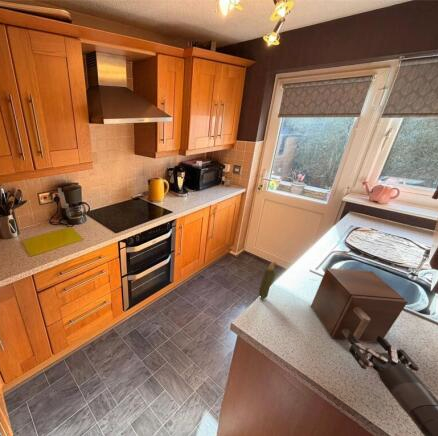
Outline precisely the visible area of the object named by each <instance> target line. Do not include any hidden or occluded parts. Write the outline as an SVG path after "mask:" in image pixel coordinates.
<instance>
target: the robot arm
mask: <svg viewBox="0 0 438 436" xmlns="http://www.w3.org/2000/svg"><path fill="white" fill-rule="evenodd" d="M347 339H348V340H347V341H348V342H349V344H350V343H351V344H350V347H349V348H348V352H349V353H350V355H351V356H352V357H353V359H354V360H355V361H356V363H357V364H358V365H359V366H360V368H361V369H362V370H366V369H368V368H371V369H373V370H374V371H376V372H377V374H378V377H379V380H380V381H381V383H383V385H384V387H385V388H386V389H387V390H388V391H389V393H390V395H392V397H393V399H395V401H396V403H397V405H399V407H401V409H402V410H403V411H404V412H405V413H406V414H407V415H408V417H409V418H410V419H411V420H412V422H413V423H414V424H415V426H416V427H417V428H418V430H419V431H420V433H421V434H422V435H423V436H438V399H437V398H436V396H435V395H434V394H433V393H432V392H431V390H430V389H429V388H428V387H427V386H426V385H425V384H424V383H423V381H422V380H421V379H420V378H419V377H418V376H417V375H416V374H417V373H418V371H419V370H420V367H419V366H418V365H417V364H416V363H415V361H414V360H413V359H412V358H411V357H410V356H409V354H408V353H407V352H406V351H405V350H403V349H402V348H399V349H398V348H396V347H395V346H392V344H391V343H390V342H389V341H388V340H387V339H386V338H385V337H384V338H383V337H382V336H378V337H377V339H376V340H377V342H378V343H377V344H378V345H380V347H381V348H382V349H383V350H384V351H385V352H378V351H374V350H372V349H371V348H369V347H365V346H364V345H363V344H361V343H360V341H358V340H357V339H356V337H355V336H354V335H353V334H352V333H349V334H348V336H347ZM368 355H370V357H369V356H368Z"/></svg>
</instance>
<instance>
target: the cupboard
mask: <svg viewBox="0 0 438 436" xmlns="http://www.w3.org/2000/svg"><path fill="white" fill-rule="evenodd" d="M351 295H354V296H366V297H378V298H390V299H403V300H405V297H404V296H403V295H402V294H400V293H398V291H396V290H395V289H394V288H393V287H392V286H391V285H389V284H388V283H387V282H385V281H384V280H383V279H382V278H380V277H379V276H378V275H377V274H376V273H375V272H374V271H371V270H359V269H357V270H356V269H343V268H330V267H326V269H325V271H324V274H323V276H322V278H321V281H320V283H319V285H318V287H317V290H316V293H315V295H314V298H313V300H312V302H311V305H310V307H311V309H312V311H313V312H314V314H315V315H316V316H317V318H318V319H319V321H320V322H321V324H322V325H323V327H324V328H325V329H326V331H327V333H328V334H329V336H331V335H332V333H333V331H334V329H335V327H336V325H337V323H338V321H339V319H340V317H341V315H342V313H343V311H344V309H345V307H346V305H347V303H348V301H349V299H350V297H351Z"/></svg>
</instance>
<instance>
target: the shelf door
mask: <svg viewBox="0 0 438 436" xmlns="http://www.w3.org/2000/svg"><path fill="white" fill-rule="evenodd" d="M406 305H408V301H407V300H406V299H404V300H403V299H390V298H378V297H366V296H354V295H351V297H350V299H349V301H348V303H347V305H346V307H345V309H344V311H343V313H342V315H341V317H340V319H339V321H338V323H337V325H336V327H335V329H334V331H333V333H332V335H330V337H331V339H336V340H347V341H348V339H347V336H348V334H349V333H352V334H353V335H354V336H355V337H356V339H357V340H358V341H359V342H368V343H375V344H376V343H377V344H379V343H378V342H377V340H376V339H377V337H378V336H382V337H383V338H384V339H385V338H386V336H387V334H388V333H389V331H390V330H391V328H392V327H393V325H394V324H395V322H396V321H397V319H398V318H399V316H400V315H401V313H402V311H403V310H404V309H405V307H406ZM349 344H350V345H351V343H350V342H349Z"/></svg>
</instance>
